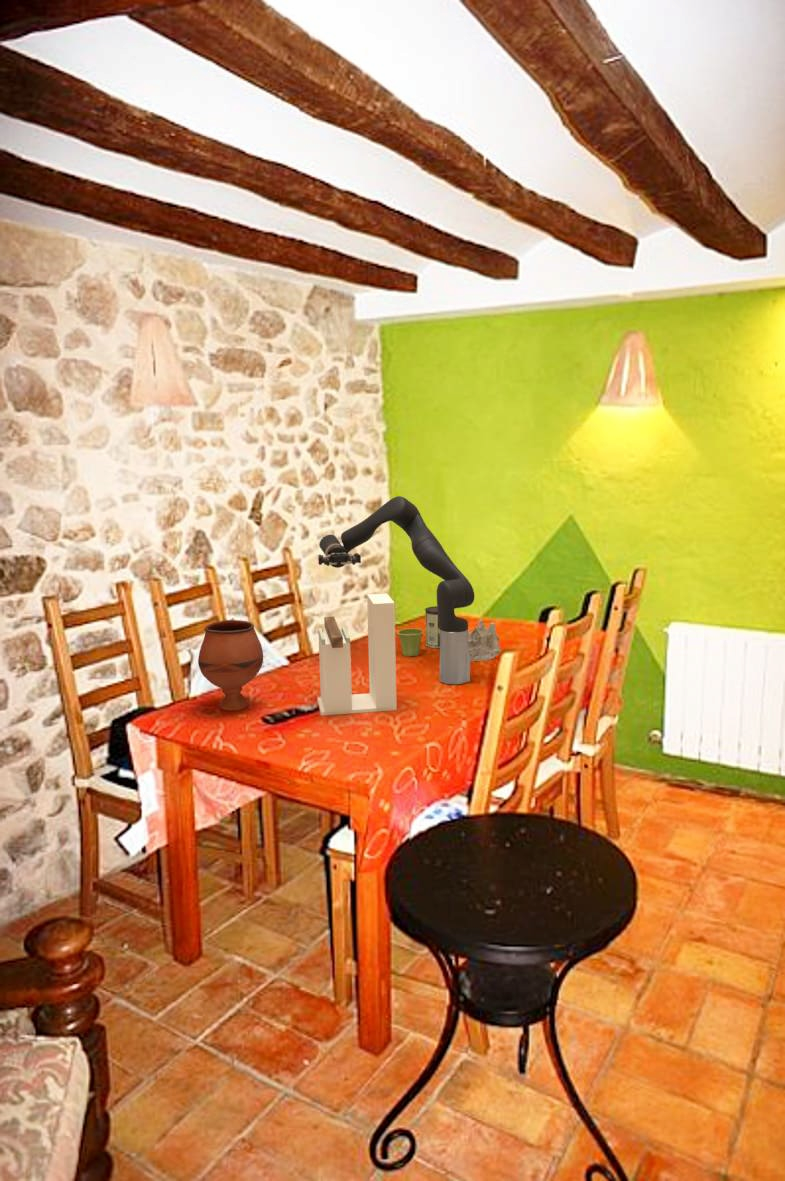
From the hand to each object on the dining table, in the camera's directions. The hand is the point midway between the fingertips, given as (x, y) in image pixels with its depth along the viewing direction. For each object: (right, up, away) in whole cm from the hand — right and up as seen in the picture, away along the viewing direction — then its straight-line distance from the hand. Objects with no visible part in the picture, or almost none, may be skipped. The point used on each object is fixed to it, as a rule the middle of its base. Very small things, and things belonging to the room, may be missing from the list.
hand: (341, 562), depth 264 cm
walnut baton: (-1, -23, -28) cm, 36 cm away
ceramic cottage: (+47, -33, +26) cm, 63 cm away
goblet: (-31, -44, -24) cm, 59 cm away
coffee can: (+35, -30, +41) cm, 62 cm away
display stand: (+6, -43, -25) cm, 50 cm away
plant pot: (+23, -33, +29) cm, 50 cm away
